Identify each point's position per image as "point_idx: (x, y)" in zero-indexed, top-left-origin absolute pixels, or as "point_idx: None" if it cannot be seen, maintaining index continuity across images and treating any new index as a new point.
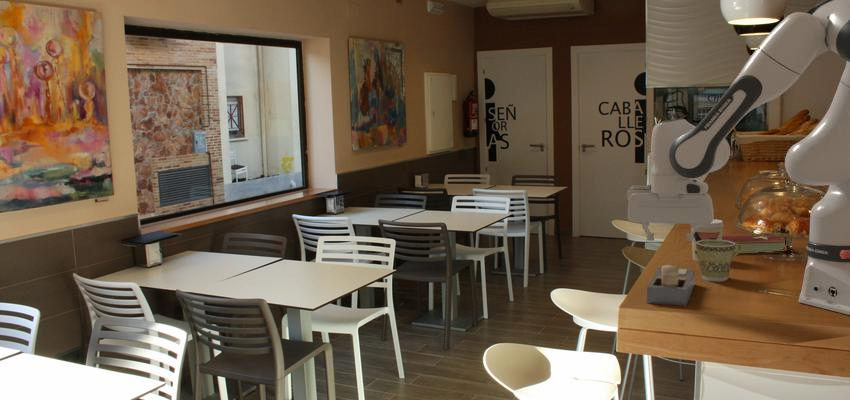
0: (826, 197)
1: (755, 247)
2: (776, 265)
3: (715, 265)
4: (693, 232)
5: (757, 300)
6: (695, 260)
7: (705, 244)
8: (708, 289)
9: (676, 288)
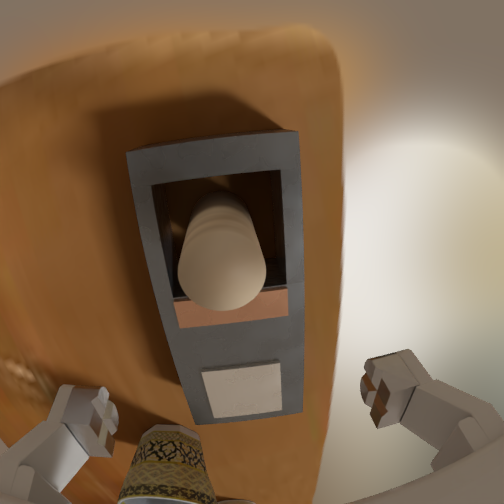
0: None
1: None
2: None
3: (155, 454)
4: (33, 437)
5: (11, 301)
6: (249, 501)
7: None
8: (146, 364)
9: (169, 154)
